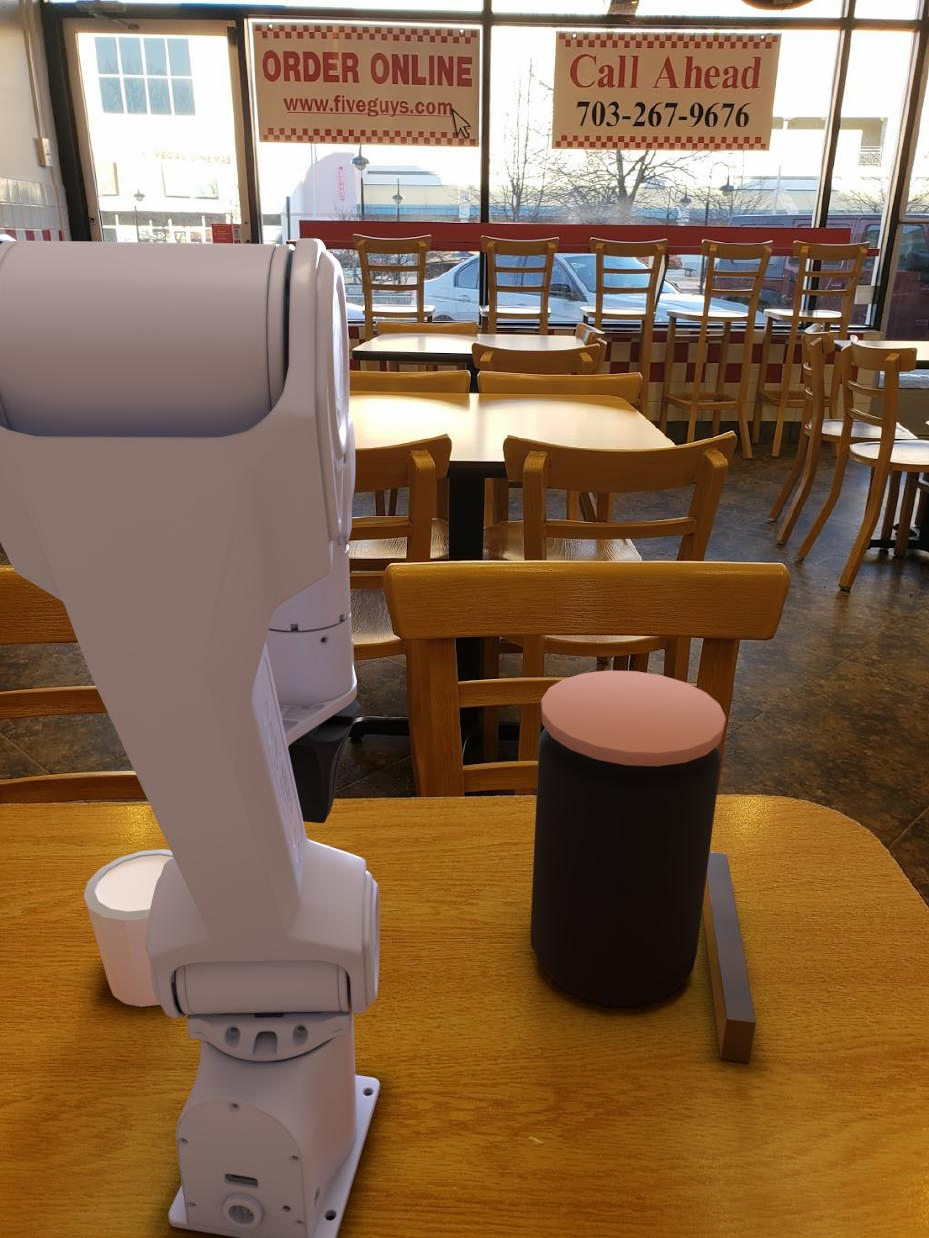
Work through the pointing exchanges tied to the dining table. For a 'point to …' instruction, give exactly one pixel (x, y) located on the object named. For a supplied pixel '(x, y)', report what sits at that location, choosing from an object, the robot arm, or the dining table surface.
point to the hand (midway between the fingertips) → (311, 816)
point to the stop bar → (727, 964)
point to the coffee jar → (623, 833)
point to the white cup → (126, 921)
